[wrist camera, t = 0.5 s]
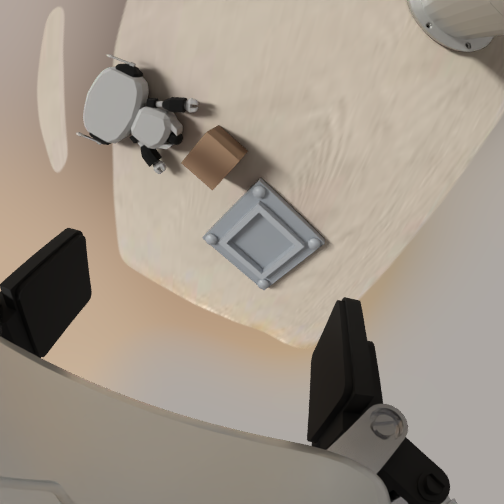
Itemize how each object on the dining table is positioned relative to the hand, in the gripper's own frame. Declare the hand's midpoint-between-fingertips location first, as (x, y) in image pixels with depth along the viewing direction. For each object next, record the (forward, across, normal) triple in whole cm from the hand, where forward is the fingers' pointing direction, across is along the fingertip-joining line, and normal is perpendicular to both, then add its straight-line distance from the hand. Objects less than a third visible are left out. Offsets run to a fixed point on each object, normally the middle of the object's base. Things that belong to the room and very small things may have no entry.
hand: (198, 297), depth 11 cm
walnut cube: (+32, +7, +3) cm, 33 cm away
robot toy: (+32, +18, -1) cm, 37 cm away
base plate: (+32, -1, +14) cm, 35 cm away
